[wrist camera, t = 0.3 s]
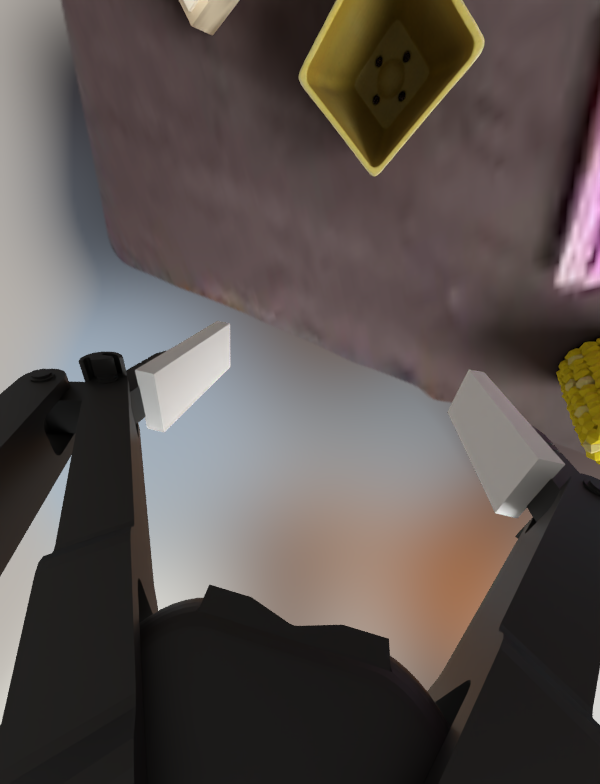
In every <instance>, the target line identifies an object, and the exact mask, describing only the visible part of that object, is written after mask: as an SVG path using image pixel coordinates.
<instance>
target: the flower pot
mask: <svg viewBox="0 0 600 784" xmlns="http://www.w3.org/2000/svg"><path fill="white" fill-rule="evenodd" d="M483 47H484V37H483V35H482V33H481V31H480V30H479V28H478V26H477V24H476V22H475V21H474V19H473V17H472V16H471V14H470V12H469V11H468V9H467V7H466V6H465V4H464V2H463V0H336V1H335V3H334V5H333V7H332V9H331V11H330V13H329V15H328V17H327V19H326V21H325V23H324V25H323V27H322V29H321V30H320V32H319V34H318V36H317V38H316V40H315V42H314V44H313V46H312V48H311V50H310V52H309V54H308V55H307V57H306V59H305V61H304V63H303V66H302V68H301V70H300V72H299V81H300V83H301V85H302V87H303V88H304V90H305V91H306V92H307V93H308V95H309V96H310V97H311V98H312V100H313V101H314V102H315V103H316V105H317V106H318V107H319V109H320V110H321V111H322V112H323V114H324V115H325V116H326V117H327V119H328V120H329V121H330V123H331V124H332V125H333V127H334V128H335V129H336V131H337V132H338V133H339V134H340V135H341V137H342V138H343V139H344V141H345V142H346V143H347V145H348V146H349V147H350V149H351V150H352V151H353V153H354V154H355V155H356V157H357V158H358V160H359V161H360V162H361V164H362V165H363V166H364V167H365V169H366V170H367V171H368V172H369V173H370V174H371V175H372V176H377V175H378V174H379V173H380V172H381V171H382V170H383V169H384V168H385V166H386V165H387V164H388V163H389V162H390V161H391V159H392V158H393V157H394V156H395V155H396V153H397V152H398V151H399V150H400V149H401V147H402V146H403V145H404V144H405V143H406V141H407V140H408V139H409V138H410V137H411V135H412V134H413V133H414V132H415V131H416V129H417V128H418V127H419V126H420V125H421V123H422V122H423V121H424V120H425V119H426V118H427V116H428V115H429V114H430V113H431V112H432V111H433V109H434V108H435V107H436V106H437V105H438V104H439V102H440V101H441V100H442V99H443V98H444V97H445V95H446V94H447V93H448V92H449V91H450V90H451V89H452V87H453V86H454V85H455V84H456V83H457V82H458V80H459V79H460V78H461V77H462V76H463V75H464V74H465V72H466V71H467V70H468V69H469V68H470V67H471V65H472V64H473V63H474V62H475V60H476V59H477V58H478V57H479V55H480V54H481V52H482V50H483ZM406 52H409V53H410V59H409V61H408V62H404V61H403V56H404V54H405V53H406ZM378 57H382V65H381V66H380V67H377V66H376V60H377V58H378ZM401 92H405V98H404V100H402V101H400V100H399V94H400V93H401ZM375 96H379V102H378V103H377V104H374V103H373V99H374V97H375Z"/></svg>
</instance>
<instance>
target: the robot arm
mask: <svg viewBox="0 0 600 784" xmlns="http://www.w3.org/2000/svg"><path fill="white" fill-rule="evenodd" d="M79 364H80V367H81V370H82V373H83V376H84V379H85V382H69V381H68V378H67V376H66V373H65V372H64V371H62V370H59V369H40V370H35V371H32V372H30V373H27V374H25V375H23V376H22V377H20V378H19V379H18V380H16V381H15V382H14V383H13V384H12V385H11V386H9V387H8V388H7V389H6V390H5V391H3V392H2V393H1V394H0V576H1V574H2V572H3V571H4V569H5V567H6V565H7V564H8V562H9V560H10V559H11V557H12V555H13V554H14V552H15V550H16V549H17V547H18V545H19V543H20V542H21V540H22V538H23V537H24V535H25V533H26V531H27V530H28V528H29V526H30V525H31V523H32V521H33V520H34V518H35V516H36V514H37V513H38V511H39V509H40V508H41V506H42V504H43V502H44V501H45V499H46V497H47V496H48V494H49V492H50V491H51V489H52V487H53V485H54V484H55V482H56V480H57V479H58V477H59V475H60V473H61V472H62V470H63V468H64V467H65V465H66V463H67V461H68V460H69V458H70V456H71V455H72V457H71V463H70V468H69V473H68V479H67V484H66V490H65V496H64V501H63V506H62V511H61V517H60V522H59V528H58V534H57V539H56V545H55V548H54V551H53V553H52V554H49V555H46V556H43V557H42V559H41V560H40V561H39V563H38V566H37V569H36V572H35V576H34V580H33V585H32V589H31V594H30V598H29V603H28V607H27V612H26V616H25V621H24V625H23V630H22V634H21V638H20V643H19V647H18V652H17V656H16V661H15V665H14V670H13V674H12V679H11V683H10V688H9V692H8V697H7V702H6V706H5V710H4V715H3V719H2V724H1V725H0V784H600V725H599V724H598V723H597V722H596V721H595V720H594V719H593V717H592V711H593V704H594V698H595V692H596V686H597V680H598V674H599V668H600V480H599V479H596V478H594V477H592V476H589V475H585V474H580V473H579V472H578V471H577V470H576V469H575V468H574V466H573V465H572V464H571V463H570V462H569V461H568V460H567V459H566V458H565V457H564V456H563V454H562V453H560V452H559V450H558V449H557V448H556V447H555V446H554V445H552V444H553V443H552V442H551V441H550V440H549V439H548V438H547V437H546V436H545V435H544V434H543V433H542V432H540V431H539V430H537V429H536V428H535V427H533V426H531V425H530V424H529V423H528V421H527V420H526V419H525V418H524V417H523V416H522V415H521V413H520V412H519V411H518V410H517V409H516V408H515V407H514V405H513V404H512V403H511V402H510V401H509V400H508V399H507V398H506V396H505V395H504V394H503V393H502V392H501V391H500V390H499V388H498V387H497V386H496V385H495V384H494V383H493V382H492V380H491V379H490V378H489V377H488V376H487V375H486V374H485V373H484V372H480V371H475V370H470V369H469V370H468V372H467V374H466V376H465V378H464V380H463V382H462V384H461V386H460V388H459V390H458V392H457V394H456V396H455V398H454V400H453V402H452V404H451V406H450V408H449V410H448V414H449V417H450V419H451V421H452V423H453V425H454V427H455V429H456V431H457V434H458V436H459V438H460V440H461V442H462V444H463V446H464V448H465V450H466V453H467V455H468V457H469V459H470V461H471V463H472V465H473V467H474V469H475V472H476V474H477V476H478V478H479V480H480V482H481V484H482V486H483V488H484V491H485V493H486V495H487V497H488V499H489V501H490V503H491V505H492V507H493V509H494V512H495V513H497V514H502V515H506V516H510V517H514V518H518V517H519V516H520V515H521V514H522V512H523V511H524V510H525V509H526V508H528V509H529V511H530V513H531V514H532V516H533V518H532V519H531V520H530V521H529V522H528V523H527V524H526V525H525V527H523V529H522V530H521V531H520V532H519V533H518V534H517V535H516V537H517V538H518V540H517V542H516V544H515V545H514V547H513V549H512V551H511V552H510V554H509V556H508V558H507V560H506V561H505V563H504V565H503V567H502V568H501V570H500V572H499V574H498V575H497V577H496V579H495V581H494V582H493V584H492V586H491V588H490V589H489V591H488V593H487V595H486V596H485V598H484V600H483V602H482V603H481V605H480V607H479V609H478V611H477V612H476V614H475V616H474V617H473V619H472V621H471V623H470V625H469V626H468V628H467V630H466V632H465V633H464V635H463V637H462V638H461V640H460V642H459V644H458V645H457V647H456V649H455V651H454V652H453V654H452V656H451V658H450V659H449V661H448V663H447V665H446V667H445V668H444V670H443V671H442V673H441V675H440V676H439V678H438V679H437V680H436V681H435V683H434V684H433V685H432V686H431V687H430V689H429V690H428V691H426V690H425V689H424V687H423V686H422V685H421V684H420V683H419V681H418V680H417V679H416V678H415V677H414V676H413V675H412V674H411V673H410V672H409V671H408V670H407V669H406V668H405V667H404V666H403V665H401V664H400V663H399V662H398V661H397V660H395V659H394V658H392V657H391V656H390V652H389V651H390V650H389V639H388V638H384V637H381V636H378V635H374V634H371V633H368V632H365V631H361V630H358V629H354V628H351V627H348V626H345V625H321V626H319V625H318V626H294V625H291V624H289V623H288V622H286V621H285V620H283V619H282V618H280V617H279V616H278V615H276V614H275V613H273V612H272V611H270V610H269V609H267V608H266V607H265V606H263V605H262V604H260V603H259V602H257V601H256V600H254V599H253V598H251V597H249V596H245V595H242V594H239V593H236V592H232V591H229V590H226V589H222V588H219V587H216V586H212V585H209V587H208V589H207V592H206V594H205V596H204V598H195V599H189V600H185V601H181V602H178V603H175V604H172V605H170V606H168V607H165V608H163V609H161V610H159V611H158V606H157V600H156V595H155V589H154V581H153V571H152V559H151V548H150V538H149V528H148V516H147V505H146V495H145V483H144V473H143V461H142V450H141V439H140V429H139V425H138V422H139V421H141V420H142V419H143V418H144V417H145V420H146V425H147V428H148V429H152V430H156V431H161V432H165V431H166V430H167V429H168V428H169V427H170V426H171V425H172V424H173V423H174V422H175V421H176V420H177V419H178V418H179V417H180V416H181V415H182V414H183V413H184V412H185V411H186V410H187V409H188V408H189V407H190V406H191V405H192V404H193V403H194V402H195V401H196V400H197V399H198V398H199V397H200V396H201V395H202V394H203V393H204V392H205V391H206V390H207V389H208V388H209V387H210V386H211V385H212V384H214V382H215V381H217V380H218V379H219V377H220V376H222V375H223V374H224V373H225V371H227V370H228V369H229V368H230V324H229V323H224V322H219V321H217V322H215V323H213V324H212V325H210V326H208V327H207V328H205V329H203V330H202V331H200V332H198V333H196V334H195V335H193V336H191V337H190V338H188V339H186V340H185V341H183V342H181V343H180V344H178V345H176V346H175V347H173V348H171V349H169V350H168V351H163V352H160V353H156V354H154V355H153V356H151V357H149V358H148V359H146V360H144V361H142V362H141V363H138V364H137V365H135V366H133V367H131V368H130V369H128V370H126V369H125V364H124V360H123V357H122V355H121V354H119V353H116V352H97V353H92V354H88V355H86V356H84V357H82V358H81V359H80V360H79Z"/></svg>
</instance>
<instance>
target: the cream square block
mask: <svg viewBox="0 0 600 784" xmlns="http://www.w3.org/2000/svg"><path fill="white" fill-rule="evenodd" d="M239 1H240V0H179V2H180V4H181V6H182V8H183V10H184V12H185V14H186V16H187V18H188V20H189V22H190V24H191V26H192V27H195V28H197V29H199V30H201V31H203V32H205V33H208V34H210V35H212V36H213V35H214V33H215V32H216V31H217V29H218V28H219V27H220V25H221V24H222V23H223V22H224V20H225V19H226V18H227V16H228V15H229V14H230V12H231V11H232V10H233V8H234V7H235V6H236V5H237V3H238V2H239Z"/></svg>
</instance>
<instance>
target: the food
mask: <svg viewBox="0 0 600 784" xmlns="http://www.w3.org/2000/svg"><path fill="white" fill-rule="evenodd" d="M558 367H559V369H560V370H559V371H557V372H556V374H557V377H558V381H559V384H560V385H561V391H562V392H563V393H564V394H563V395H562V397H563V398H564V400H565V401H566V403H567V410H568V411H569V412H570V419H572V423H573V425H574V426H575V429H574V430H575V431H576V432H577V434H578V437H579V440H580V442H581V445H582V446H583V447H584V448H585V450H586V457H588V458H590V459H593V460H595V461H596V463H598V464H600V338H598V339H597V340H596V342H591V341H588V342H584V343H583V345H582V346H581V347H580V348H579V349H578V348H575V349H573V350H571V351H569V352H568V353H567V355H566V356H565V360H563V361H561V362H560V364H559V366H558Z"/></svg>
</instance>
